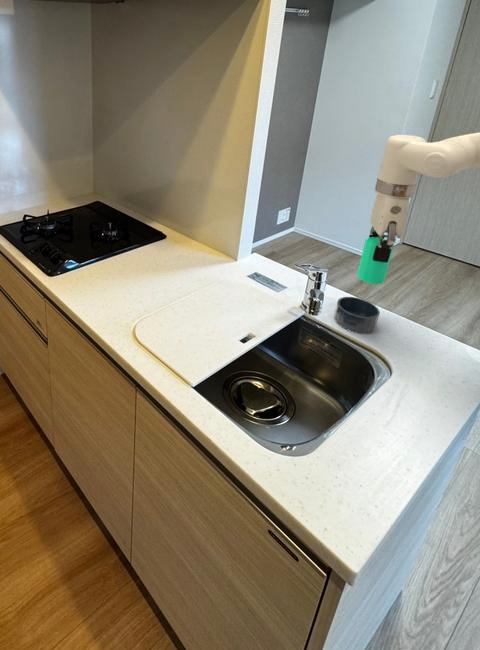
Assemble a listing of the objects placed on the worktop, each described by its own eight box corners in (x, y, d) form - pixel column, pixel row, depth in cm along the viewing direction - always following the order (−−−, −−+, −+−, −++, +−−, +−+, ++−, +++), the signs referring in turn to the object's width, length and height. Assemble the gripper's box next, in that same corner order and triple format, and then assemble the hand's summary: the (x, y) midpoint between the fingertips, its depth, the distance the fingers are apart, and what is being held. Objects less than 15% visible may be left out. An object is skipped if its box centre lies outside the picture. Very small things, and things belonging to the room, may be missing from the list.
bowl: (370, 315, 116) (374, 300, 114) (379, 337, 108) (383, 321, 106) (331, 308, 120) (335, 294, 118) (337, 329, 111) (340, 313, 109)
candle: (374, 286, 103) (385, 243, 99) (351, 275, 108) (361, 234, 104) (389, 280, 106) (401, 238, 101) (366, 270, 111) (377, 229, 106)
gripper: (426, 201, 89) (404, 274, 96) (402, 178, 104) (384, 242, 111) (385, 198, 92) (367, 269, 98) (368, 176, 107) (353, 238, 113)
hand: (376, 254), depth 104 cm, fingers closed on candle, 5 cm apart
